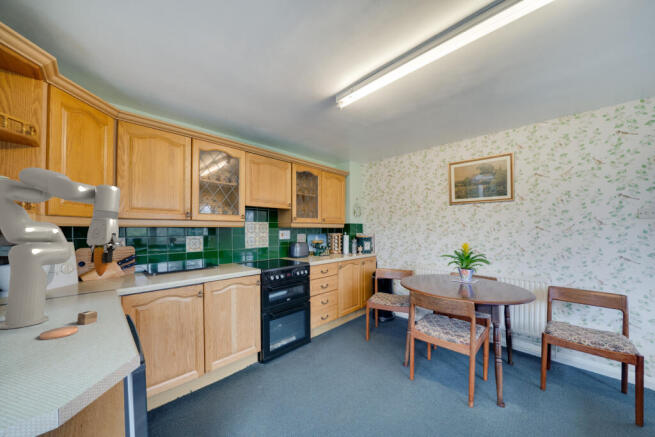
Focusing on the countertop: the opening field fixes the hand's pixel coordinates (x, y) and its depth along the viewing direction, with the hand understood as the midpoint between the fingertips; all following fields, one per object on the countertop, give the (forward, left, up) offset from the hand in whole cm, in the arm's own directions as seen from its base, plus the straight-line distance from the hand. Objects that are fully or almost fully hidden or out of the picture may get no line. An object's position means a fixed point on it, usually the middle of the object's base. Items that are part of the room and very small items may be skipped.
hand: (101, 262), depth 95 cm
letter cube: (-8, +2, -24) cm, 26 cm away
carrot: (0, 0, -6) cm, 6 cm away
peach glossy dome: (-3, -9, -24) cm, 26 cm away
